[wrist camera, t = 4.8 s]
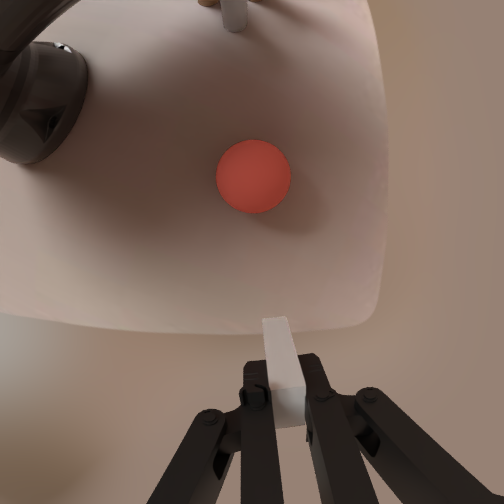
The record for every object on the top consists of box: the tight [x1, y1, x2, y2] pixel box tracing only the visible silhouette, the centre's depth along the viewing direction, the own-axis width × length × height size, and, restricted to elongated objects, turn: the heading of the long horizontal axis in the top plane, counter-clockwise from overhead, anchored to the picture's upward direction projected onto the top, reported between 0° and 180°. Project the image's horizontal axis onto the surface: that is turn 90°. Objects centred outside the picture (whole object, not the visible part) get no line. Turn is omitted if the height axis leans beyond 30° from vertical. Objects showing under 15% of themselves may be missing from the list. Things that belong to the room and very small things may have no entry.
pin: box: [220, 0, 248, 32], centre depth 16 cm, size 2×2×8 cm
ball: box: [216, 140, 291, 213], centre depth 21 cm, size 6×6×6 cm
